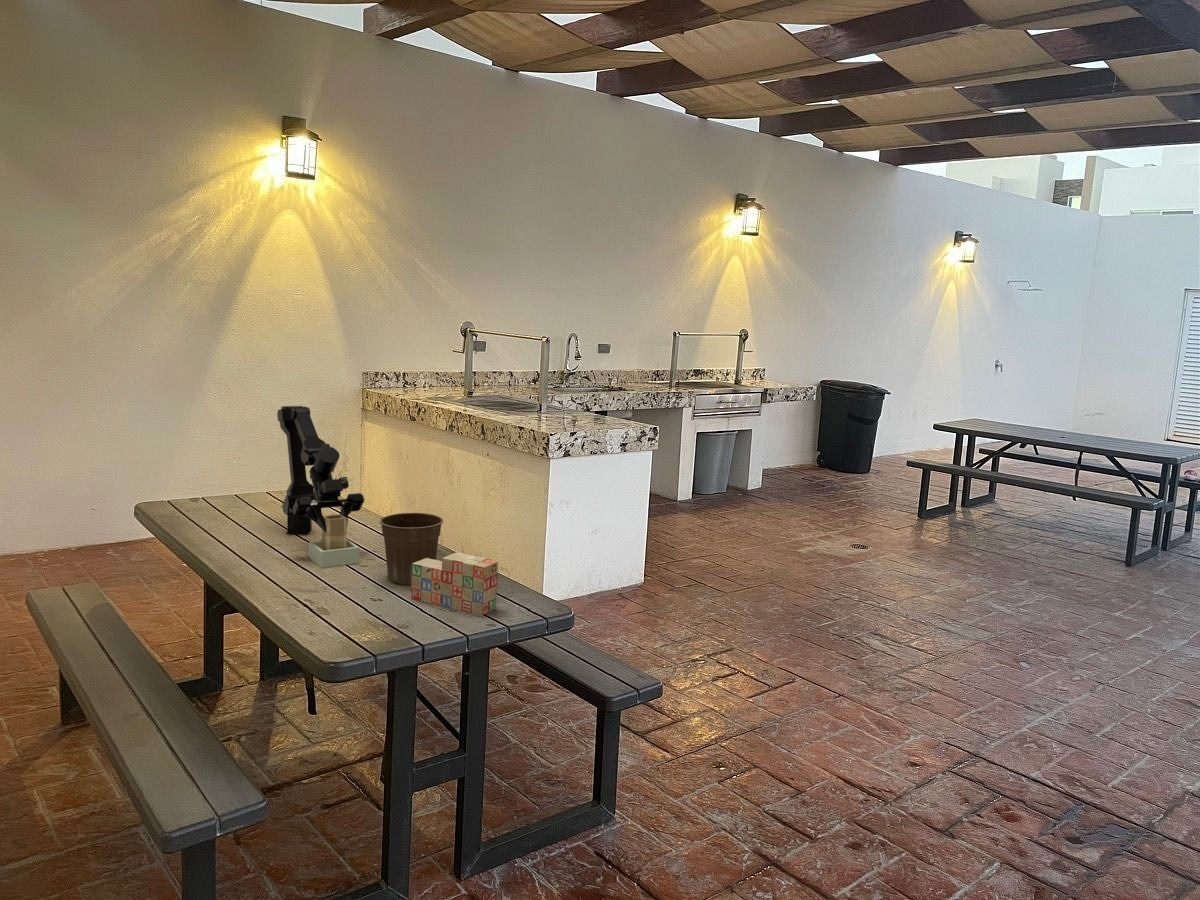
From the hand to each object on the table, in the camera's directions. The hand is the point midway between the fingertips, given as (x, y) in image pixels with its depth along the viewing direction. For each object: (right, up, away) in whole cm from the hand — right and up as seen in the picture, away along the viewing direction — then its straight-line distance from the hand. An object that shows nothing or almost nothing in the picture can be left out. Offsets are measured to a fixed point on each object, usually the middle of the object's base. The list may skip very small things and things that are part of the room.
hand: (335, 530), depth 253 cm
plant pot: (+23, -12, -10) cm, 28 cm away
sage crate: (-1, -9, +3) cm, 9 cm away
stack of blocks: (+37, -16, -28) cm, 49 cm away
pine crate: (-1, -6, +2) cm, 7 cm away
